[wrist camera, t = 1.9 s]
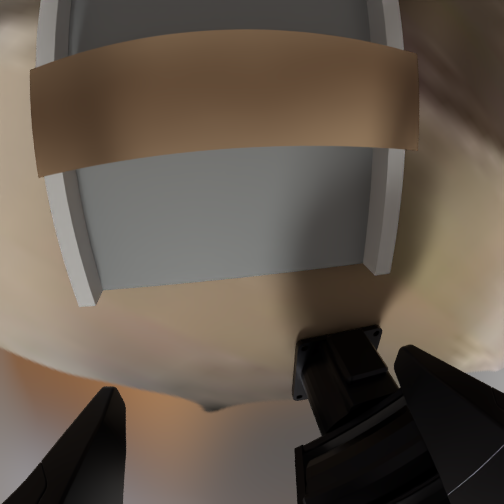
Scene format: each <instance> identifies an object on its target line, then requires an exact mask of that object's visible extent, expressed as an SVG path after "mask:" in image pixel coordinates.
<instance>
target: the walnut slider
mask: <svg viewBox="0 0 504 504" xmlns="http://www.w3.org/2000/svg"><path fill="white" fill-rule="evenodd" d="M30 101H31V118H32V131H33V141H34V149H35V157H36V164H37V171H38V177H39V178H40V177H44V176H49V175H53V174H57V173H62V172H66V171H71V170H76V169H80V168H85V167H91V166H96V165H101V164H107V163H113V162H119V161H125V160H131V159H138V158H145V157H152V156H160V155H168V154H176V153H185V152H195V151H206V150H218V149H232V148H249V147H272V146H352V147H375V148H391V149H404V150H416V151H418V136H419V78H418V59H417V54H416V53H412V52H409V51H405V50H401V49H398V48H394V47H390V46H385V45H381V44H377V43H372V42H367V41H362V40H357V39H351V38H345V37H339V36H332V35H325V34H317V33H308V32H297V31H282V30H255V29H238V30H210V31H196V32H185V33H176V34H168V35H160V36H154V37H147V38H142V39H136V40H131V41H126V42H121V43H116V44H112V45H108V46H103V47H99V48H96V49H92V50H88V51H84V52H81V53H78V54H74V55H71V56H68V57H65V58H62V59H59V60H56V61H53V62H50V63H47V64H44V65H42V66H39V67H36V68H34V69H31V70H30Z"/></svg>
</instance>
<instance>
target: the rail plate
mask: <svg viewBox="0 0 504 504" xmlns="http://www.w3.org/2000/svg"><path fill="white" fill-rule="evenodd" d="M238 29H255V30H282V31H297V32H308V33H317V34H325V35H332V36H339V37H345V38H351V39H357V40H362V41H367V42H372V43H377V44H381V45H385V46H390V47H394V48H398V49H401V50H404V45H403V34H402V25H401V16H400V9H399V2H398V0H41V4H40V12H39V21H38V31H37V46H36V67H39V66H42V65H44V64H47V63H50V62H53V61H56V60H59V59H62V58H65V57H68V56H71V55H74V54H78V53H81V52H84V51H88V50H92V49H96V48H99V47H103V46H108V45H112V44H116V43H121V42H126V41H131V40H136V39H142V38H147V37H154V36H160V35H168V34H176V33H185V32H196V31H210V30H238ZM404 159H405V150H404V149H391V148H375V147H352V146H272V147H249V148H232V149H218V150H206V151H195V152H185V153H176V154H168V155H160V156H152V157H145V158H138V159H131V160H125V161H119V162H113V163H107V164H101V165H96V166H91V167H85V168H80V169H76V170H71V171H66V172H62V173H57V174H53V175H49V176H44V177H45V183H46V189H47V194H48V199H49V204H50V209H51V213H52V218H53V222H54V226H55V230H56V234H57V238H58V242H59V246H60V249H61V253H62V256H63V260H64V263H65V266H66V270H67V273H68V276H69V279H70V282H71V285H72V288H73V291H74V294H75V297H76V299H77V302H78V305H79V307H83V306H96V304H97V302H98V300H99V298H100V296H101V293H102V291H103V290H112V289H124V288H136V287H148V286H159V285H170V284H181V283H192V282H202V281H212V280H222V279H232V278H241V277H251V276H260V275H269V274H278V273H287V272H295V271H304V270H312V269H320V268H329V267H337V266H345V265H352V264H360V263H363V264H364V265H365V266H366V267H367V268H368V269H369V270H370V271H371V272H372V273H373V274H374V275H375V276H376V275H382V274H389V273H390V270H391V265H392V259H393V253H394V247H395V241H396V235H397V228H398V220H399V212H400V204H401V195H402V185H403V173H404Z"/></svg>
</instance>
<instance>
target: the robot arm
mask: <svg viewBox="0 0 504 504" xmlns="http://www.w3.org/2000/svg"><path fill="white" fill-rule="evenodd" d="M381 334H382V329H381V328H380V326H379V325H373V326H369V327H364V328H360V329H355V330H350V331H345V332H340V333H335V334H330V335H324V336H319V337H313V338H307V339H303V340H300V341H299V342H298V343H297V345H296V355H295V367H294V379H293V390H292V396H293V399H294V400H296V401H299V400H304V399H308V401H309V403H310V406H311V409H312V411H313V414H314V416H315V419H316V422H317V425H318V428H319V430H320V433H321V437H319V438H317V439H316V440H313V441H312V442H310V443H308V444H306V445H301V446H299V447H297V448H295V467H296V468H295V469H296V485H297V503H298V504H504V393H502V392H500V391H498V390H497V389H495V388H493V387H492V388H491V386H489V385H487V384H485V383H483V382H481V381H479V380H477V379H475V378H474V377H472V376H470V375H468V374H466V373H464V372H462V371H461V370H459V369H457V368H455V367H453V366H451V365H449V364H447V363H446V362H444V361H442V360H440V359H438V358H436V357H434V356H432V355H431V354H429V353H427V352H425V351H423V350H421V349H419V348H417V347H416V346H414V345H406V346H403V347H401V348H400V349H399V352H398V355H397V357H396V360H395V363H394V370H395V373H396V376H397V379H398V381H399V384H400V388H399V387H398V385H397V384H396V382H395V381H394V379H393V378H392V376H391V375H390V373H389V371H388V367H387V365H386V364H385V362H384V361H383V359H382V358H381V356H380V355H379V353H378V352H377V348H378V345H379V341H380V338H381ZM303 346H305V347H303ZM125 460H126V407H125V403H124V401H123V399H122V397H121V395H120V393H119V392H118V390H117V388H116V387H107V386H106V387H103V388H102V389H101V390H100V391H99V392H98V393H97V394H96V395H95V397H94V398H93V399H92V400H91V401H90V402H89V404H88V405H87V406H86V407H85V408H84V410H83V411H82V412H81V413H80V414H79V416H78V417H77V418H76V419H75V420H74V422H73V423H72V424H71V425H70V427H69V428H68V429H67V430H66V431H65V432H64V434H63V435H62V436H61V437H60V439H59V440H58V441H57V442H56V443H55V445H54V446H53V447H52V448H51V450H50V451H49V452H48V453H47V455H46V456H45V457H44V458H43V460H42V463H39V464H38V466H37V467H36V468H35V469H34V471H33V472H32V473H31V474H30V475H29V476H28V478H27V479H26V480H25V481H24V482H23V483H22V484H21V485H20V486H19V487H18V488H17V490H15V491H14V492H13V493H12V494H11V495H10V496H9V497H8V499H6V500H5V501H4V502H3V503H2V504H123V489H124V472H125Z"/></svg>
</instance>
